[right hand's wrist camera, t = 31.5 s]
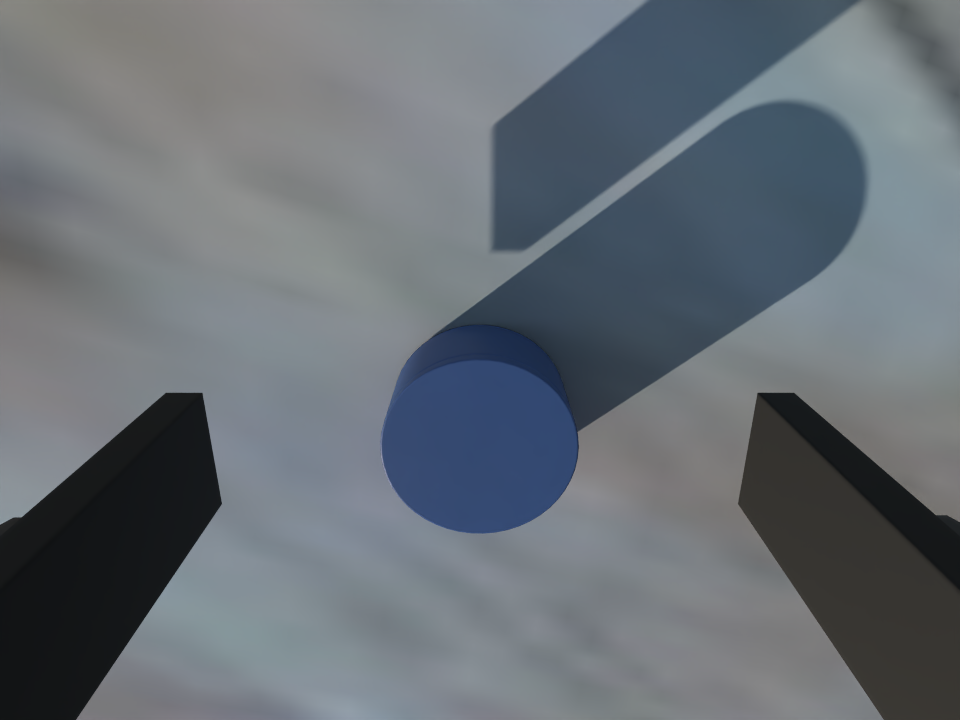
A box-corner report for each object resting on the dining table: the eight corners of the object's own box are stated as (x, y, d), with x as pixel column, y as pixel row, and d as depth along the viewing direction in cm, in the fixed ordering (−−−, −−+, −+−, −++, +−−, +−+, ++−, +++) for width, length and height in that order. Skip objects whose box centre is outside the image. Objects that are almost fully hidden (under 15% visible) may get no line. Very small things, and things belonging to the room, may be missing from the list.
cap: (484, 507, 17) (485, 565, 14) (359, 409, 16) (340, 456, 13) (600, 400, 16) (620, 446, 13) (474, 287, 14) (472, 317, 12)
